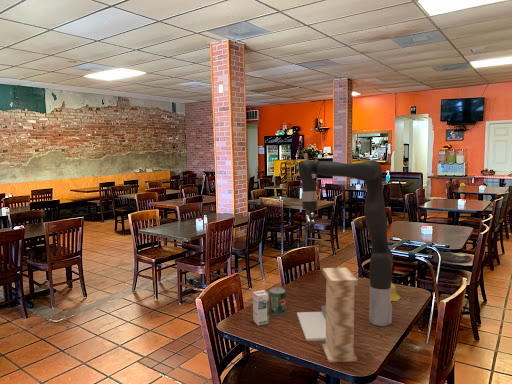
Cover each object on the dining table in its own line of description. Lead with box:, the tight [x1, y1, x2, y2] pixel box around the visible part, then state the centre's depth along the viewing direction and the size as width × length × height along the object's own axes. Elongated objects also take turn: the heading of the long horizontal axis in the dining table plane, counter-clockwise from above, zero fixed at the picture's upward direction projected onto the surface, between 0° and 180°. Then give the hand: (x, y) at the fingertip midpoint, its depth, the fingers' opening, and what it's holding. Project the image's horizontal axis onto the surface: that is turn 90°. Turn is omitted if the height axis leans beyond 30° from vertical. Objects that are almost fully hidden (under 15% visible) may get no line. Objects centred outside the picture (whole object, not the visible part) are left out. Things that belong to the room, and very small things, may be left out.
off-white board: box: [296, 311, 326, 342], centre depth 171 cm, size 18×26×1 cm
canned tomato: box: [269, 287, 287, 316], centre depth 187 cm, size 8×8×11 cm
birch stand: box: [321, 267, 359, 363], centre depth 147 cm, size 11×15×32 cm
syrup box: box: [252, 289, 270, 326], centre depth 175 cm, size 6×6×14 cm
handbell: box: [390, 251, 401, 301], centre depth 202 cm, size 12×12×25 cm
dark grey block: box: [320, 304, 326, 319], centre depth 171 cm, size 3×26×3 cm
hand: (310, 231), depth 191 cm, fingers open, 8 cm apart
